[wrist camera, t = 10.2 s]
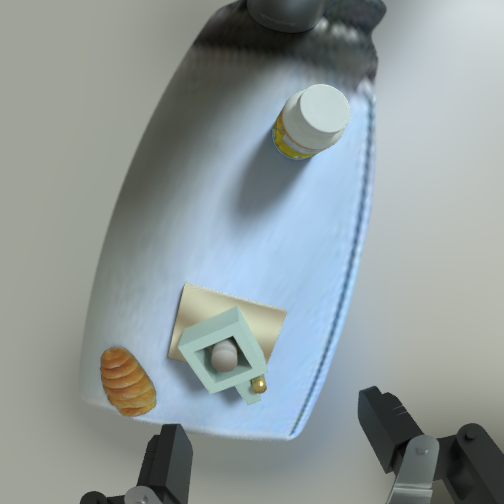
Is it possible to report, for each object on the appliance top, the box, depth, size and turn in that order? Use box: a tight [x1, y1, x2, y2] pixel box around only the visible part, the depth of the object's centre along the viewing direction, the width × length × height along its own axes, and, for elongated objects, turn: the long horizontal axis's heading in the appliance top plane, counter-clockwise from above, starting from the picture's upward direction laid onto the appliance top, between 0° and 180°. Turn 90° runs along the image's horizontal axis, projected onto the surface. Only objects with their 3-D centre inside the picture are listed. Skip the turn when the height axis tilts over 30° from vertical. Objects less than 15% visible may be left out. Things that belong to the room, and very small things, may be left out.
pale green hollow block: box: [178, 305, 267, 405], centre depth 28 cm, size 10×6×4 cm, turn 25°
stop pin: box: [252, 374, 267, 394], centre depth 28 cm, size 1×1×4 cm
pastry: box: [100, 347, 156, 416], centre depth 29 cm, size 9×7×4 cm
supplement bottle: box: [272, 84, 350, 160], centre depth 23 cm, size 5×5×10 cm
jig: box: [168, 282, 287, 372], centre depth 27 cm, size 9×11×6 cm
